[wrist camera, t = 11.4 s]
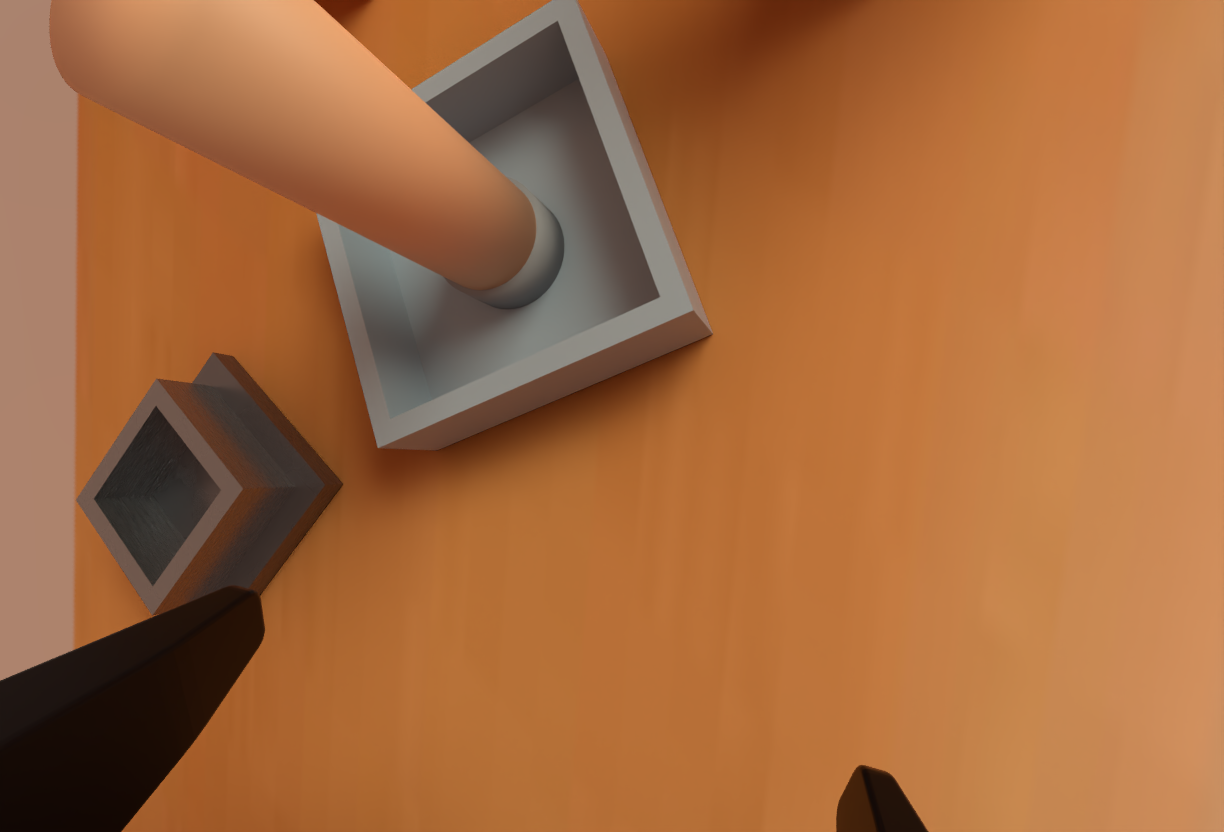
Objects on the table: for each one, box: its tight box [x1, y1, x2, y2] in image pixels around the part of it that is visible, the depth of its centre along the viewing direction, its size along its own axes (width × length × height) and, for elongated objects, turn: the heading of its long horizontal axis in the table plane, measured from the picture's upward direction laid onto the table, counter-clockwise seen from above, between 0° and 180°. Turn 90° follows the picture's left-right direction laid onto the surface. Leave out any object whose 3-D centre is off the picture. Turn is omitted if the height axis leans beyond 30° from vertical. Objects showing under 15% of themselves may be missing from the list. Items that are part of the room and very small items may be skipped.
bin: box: [316, 0, 713, 451], centre depth 23 cm, size 12×12×4 cm
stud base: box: [76, 353, 343, 615], centre depth 27 cm, size 9×9×4 cm
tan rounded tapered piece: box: [50, 0, 565, 309], centre depth 17 cm, size 4×4×14 cm
